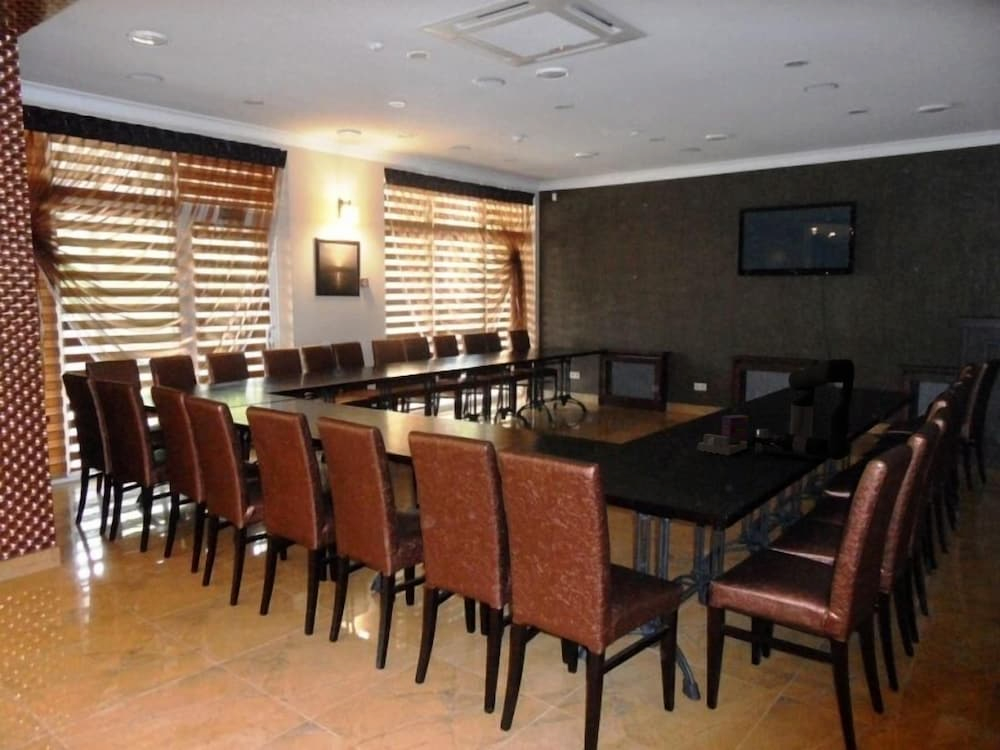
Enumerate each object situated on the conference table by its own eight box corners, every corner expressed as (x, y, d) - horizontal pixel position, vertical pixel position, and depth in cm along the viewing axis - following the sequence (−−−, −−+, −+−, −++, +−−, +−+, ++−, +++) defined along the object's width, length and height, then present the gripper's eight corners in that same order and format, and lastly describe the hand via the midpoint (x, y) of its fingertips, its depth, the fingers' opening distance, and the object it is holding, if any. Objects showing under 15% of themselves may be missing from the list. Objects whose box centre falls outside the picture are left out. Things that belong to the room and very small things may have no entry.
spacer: (757, 451, 309) (758, 428, 308) (769, 452, 306) (770, 429, 304) (753, 453, 305) (754, 429, 304) (764, 454, 302) (766, 431, 301)
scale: (716, 443, 323) (716, 428, 322) (746, 448, 314) (747, 432, 313) (697, 450, 309) (698, 434, 308) (729, 455, 300) (729, 439, 299)
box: (729, 443, 324) (730, 417, 322) (720, 441, 329) (722, 415, 328) (747, 442, 328) (749, 416, 326) (739, 439, 333) (740, 414, 331)
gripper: (802, 432, 300) (762, 427, 311) (791, 437, 290) (750, 431, 300) (801, 450, 301) (761, 444, 312) (789, 455, 290) (749, 449, 301)
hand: (756, 438), depth 306 cm, fingers open, 6 cm apart
